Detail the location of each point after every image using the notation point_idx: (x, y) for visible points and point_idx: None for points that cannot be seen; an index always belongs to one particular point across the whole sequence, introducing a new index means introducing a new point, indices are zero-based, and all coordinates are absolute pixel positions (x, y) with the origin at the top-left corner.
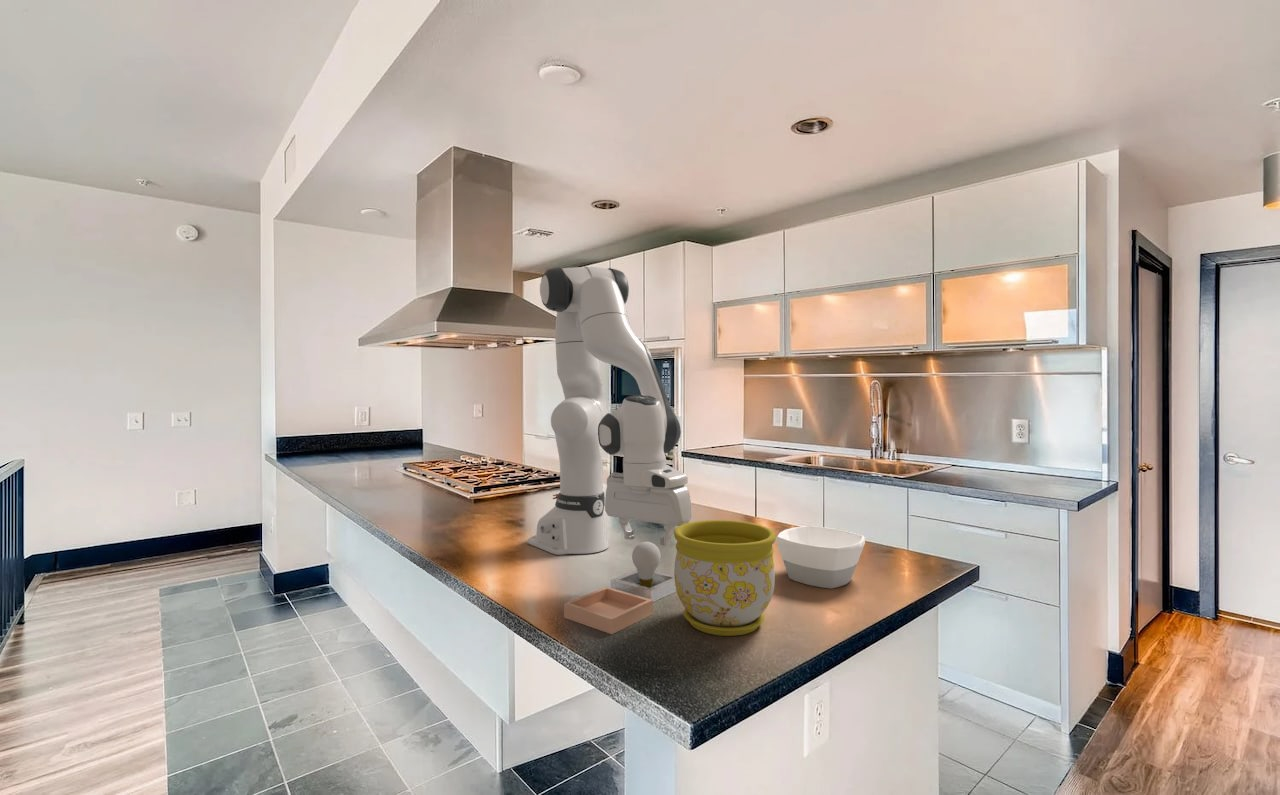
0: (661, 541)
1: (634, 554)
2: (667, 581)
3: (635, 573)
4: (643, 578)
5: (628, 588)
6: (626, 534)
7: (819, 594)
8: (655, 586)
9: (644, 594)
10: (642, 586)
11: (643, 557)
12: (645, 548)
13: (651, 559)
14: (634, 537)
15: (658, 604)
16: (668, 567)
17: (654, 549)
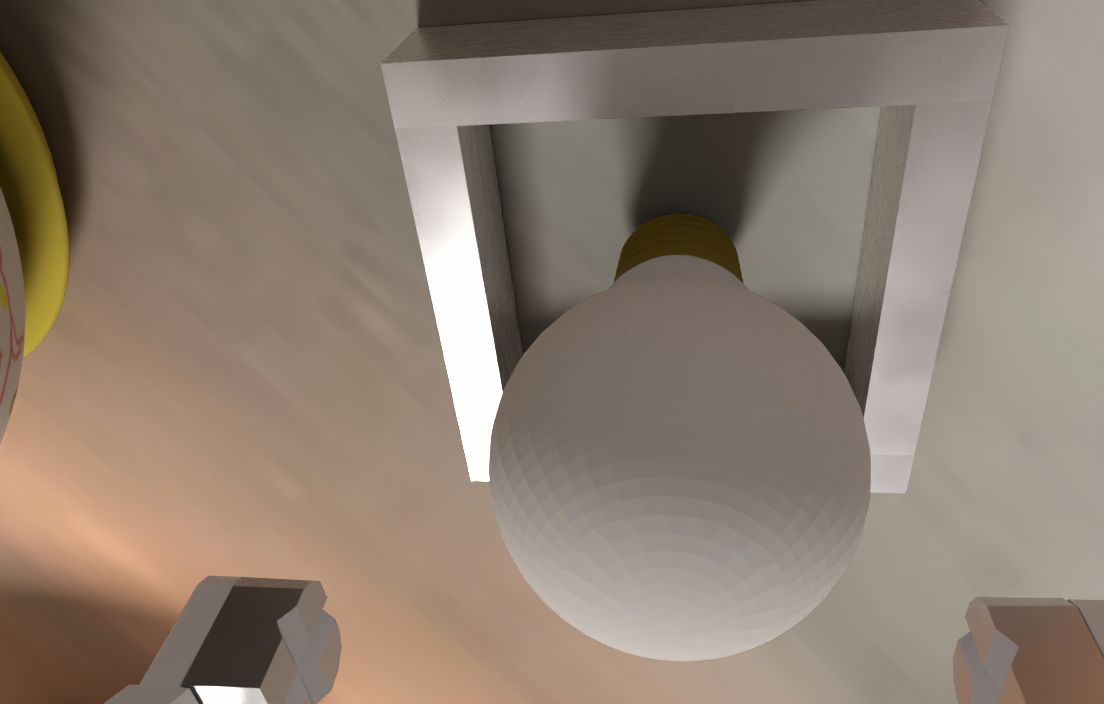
0: (266, 623)
1: (745, 360)
2: (477, 358)
3: (871, 359)
4: (657, 259)
5: (703, 33)
6: (1097, 671)
7: (13, 673)
8: (451, 197)
9: (477, 41)
10: (544, 111)
11: (577, 357)
12: (585, 487)
13: (503, 394)
14: (955, 681)
15: (356, 58)
16: (849, 658)
17: (513, 541)
